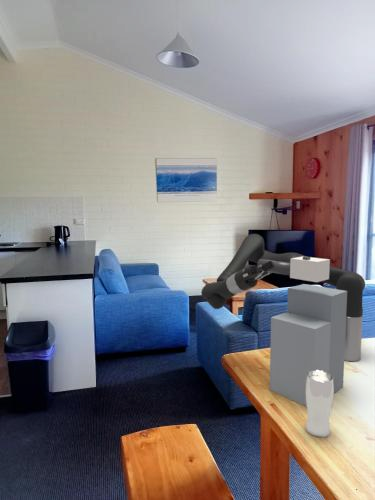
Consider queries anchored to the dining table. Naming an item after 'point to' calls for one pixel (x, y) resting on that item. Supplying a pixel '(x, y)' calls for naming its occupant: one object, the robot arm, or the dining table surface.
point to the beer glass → (318, 402)
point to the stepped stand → (308, 339)
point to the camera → (301, 268)
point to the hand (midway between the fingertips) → (276, 262)
